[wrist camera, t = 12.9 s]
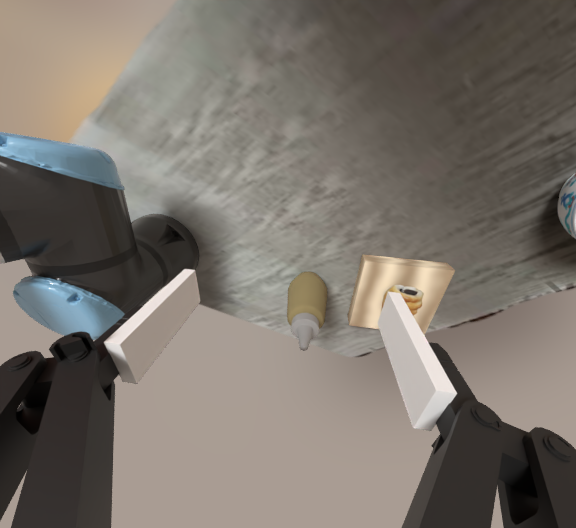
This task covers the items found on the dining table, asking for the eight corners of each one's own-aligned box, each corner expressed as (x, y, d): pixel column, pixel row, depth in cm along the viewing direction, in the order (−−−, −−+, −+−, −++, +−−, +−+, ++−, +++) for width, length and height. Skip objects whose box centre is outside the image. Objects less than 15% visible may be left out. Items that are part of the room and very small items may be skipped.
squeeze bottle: (283, 287, 50) (267, 351, 34) (301, 260, 46) (293, 318, 30) (314, 303, 51) (312, 373, 35) (334, 277, 47) (342, 343, 31)
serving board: (347, 316, 51) (349, 325, 49) (362, 254, 44) (365, 261, 41) (418, 324, 50) (424, 334, 47) (446, 262, 42) (455, 270, 40)
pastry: (404, 323, 46) (411, 336, 43) (372, 317, 47) (376, 330, 44) (423, 286, 42) (431, 298, 39) (387, 280, 42) (393, 292, 39)
